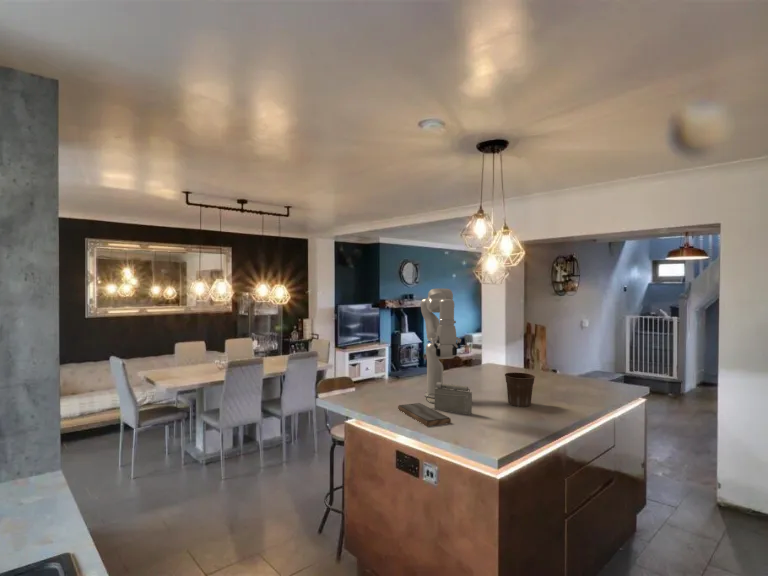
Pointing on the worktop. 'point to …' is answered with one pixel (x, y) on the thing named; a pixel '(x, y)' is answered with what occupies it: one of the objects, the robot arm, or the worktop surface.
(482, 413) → the worktop surface
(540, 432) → the worktop surface
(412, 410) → the brown wooden board
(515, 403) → the plant pot
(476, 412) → the worktop surface
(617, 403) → the worktop surface
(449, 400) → the geiger counter
